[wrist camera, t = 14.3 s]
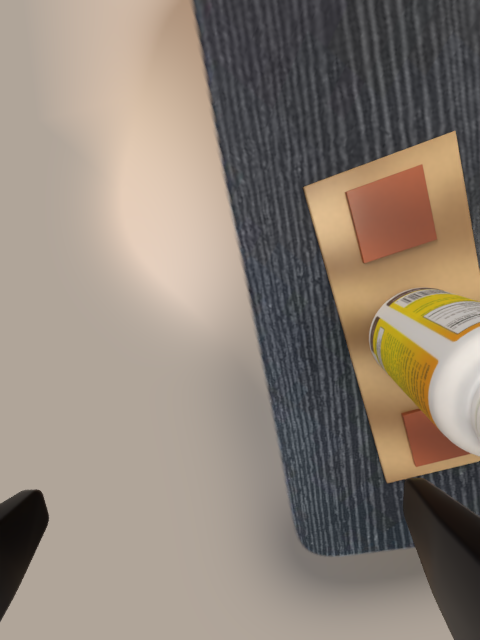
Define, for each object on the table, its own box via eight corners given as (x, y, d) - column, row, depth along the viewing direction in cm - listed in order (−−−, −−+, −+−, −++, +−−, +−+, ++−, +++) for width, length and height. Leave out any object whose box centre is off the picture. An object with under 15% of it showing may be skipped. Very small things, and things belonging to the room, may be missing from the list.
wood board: (302, 187, 18) (304, 186, 18) (451, 132, 17) (459, 128, 17) (385, 479, 23) (388, 486, 22) (506, 449, 22) (514, 457, 21)
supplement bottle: (412, 391, 21) (554, 538, 11) (346, 337, 20) (432, 442, 10) (483, 324, 19) (718, 422, 9) (414, 264, 19) (591, 303, 9)
